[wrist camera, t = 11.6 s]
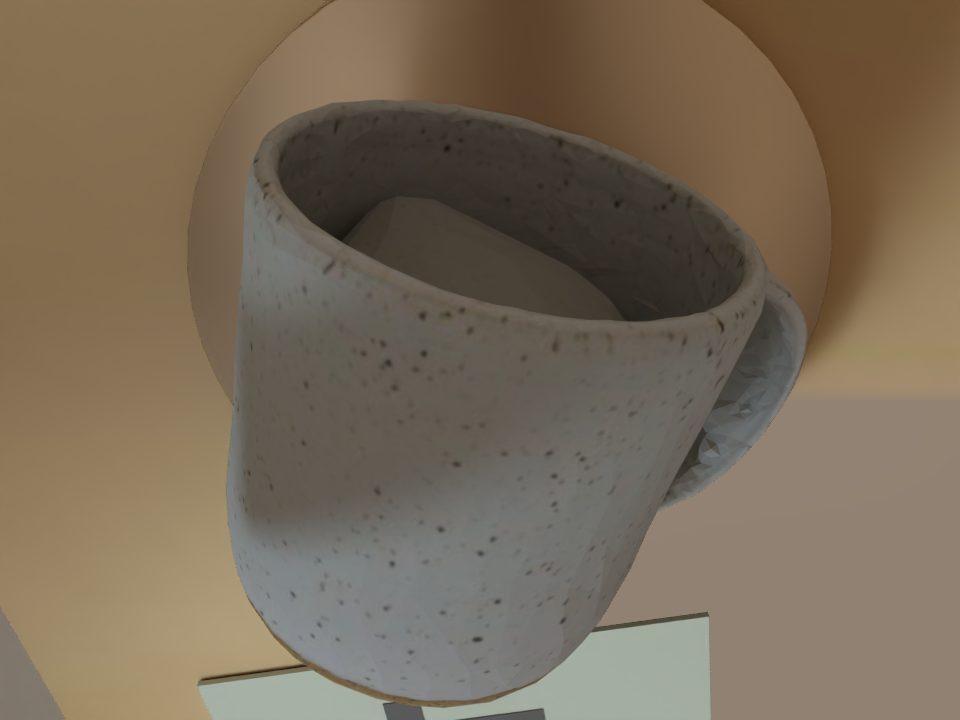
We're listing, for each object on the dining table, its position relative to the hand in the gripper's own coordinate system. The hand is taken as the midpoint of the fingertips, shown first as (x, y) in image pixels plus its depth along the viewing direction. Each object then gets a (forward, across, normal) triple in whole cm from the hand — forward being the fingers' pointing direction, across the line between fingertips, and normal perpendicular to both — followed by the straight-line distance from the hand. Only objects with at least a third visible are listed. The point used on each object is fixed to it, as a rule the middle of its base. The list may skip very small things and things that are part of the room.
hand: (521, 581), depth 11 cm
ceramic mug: (+8, +1, 0) cm, 8 cm away
